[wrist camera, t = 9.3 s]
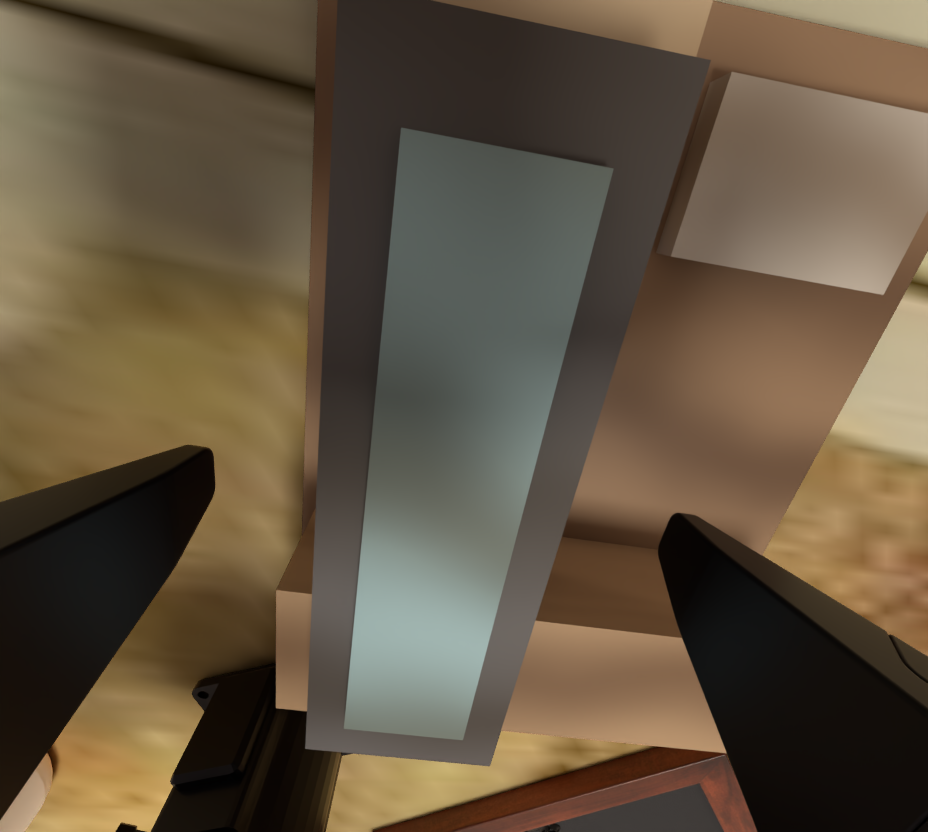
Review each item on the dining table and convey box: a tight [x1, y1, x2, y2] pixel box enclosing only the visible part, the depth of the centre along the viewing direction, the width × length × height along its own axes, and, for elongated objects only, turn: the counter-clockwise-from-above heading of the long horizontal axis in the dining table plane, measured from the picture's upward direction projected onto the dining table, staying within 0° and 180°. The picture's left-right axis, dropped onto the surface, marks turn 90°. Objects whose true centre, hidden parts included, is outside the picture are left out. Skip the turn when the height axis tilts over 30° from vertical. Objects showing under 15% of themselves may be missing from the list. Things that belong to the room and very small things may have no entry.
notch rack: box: [276, 0, 928, 753], centre depth 14 cm, size 21×17×5 cm
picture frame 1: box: [305, 0, 711, 766], centre depth 10 cm, size 16×5×2 cm, turn 171°
